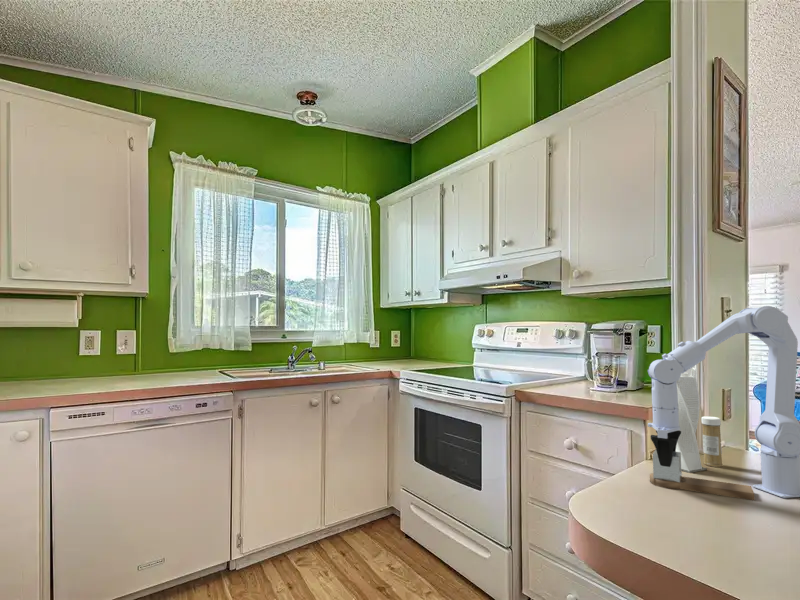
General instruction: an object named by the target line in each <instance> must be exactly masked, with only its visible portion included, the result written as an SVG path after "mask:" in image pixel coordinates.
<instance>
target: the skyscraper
mask: <svg viewBox="0 0 800 600" xmlns="http://www.w3.org/2000/svg"><path fill="white" fill-rule="evenodd" d="M677 392H678V414H679V426H680V430H679V431H681V434H680V436H679V438H678V441H677V445H676V452H681V470H682V472H685V473H688V474H691V473H696V472H701V471H702V472H703V471H707V467H703V466H702V461H701V455H700V450H699V446H698V445H699V444H698V441H697V440H698V439H697V437H696V433H697V428H698V425H699V418H700V404H701V403H700V394H699V387H698V380H697V369H696V368H695V367H692V368H691V370H690V373H689V372H684V373H681V376H680V378H679V380H678V381H677Z"/></svg>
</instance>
